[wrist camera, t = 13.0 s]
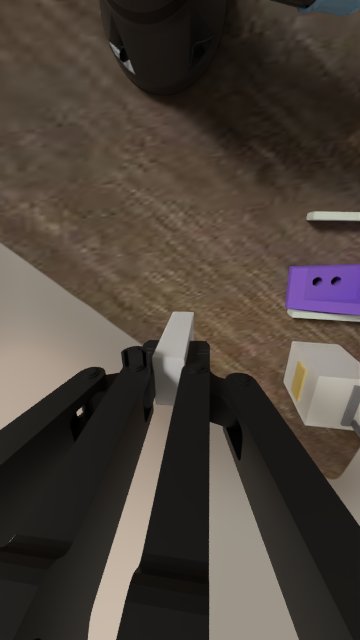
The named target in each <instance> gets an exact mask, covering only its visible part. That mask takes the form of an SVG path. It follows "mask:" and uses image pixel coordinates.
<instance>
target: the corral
mask: <svg viewBox="0 0 360 640" xmlns="http://www.w3.org/2000/svg"><path fill="white" fill-rule="evenodd" d="M306 220H320V221H360V212H310V213H308V214H307V219H306ZM287 313H288V314H289V315H290V316H291V317H294V318H310V319H326V320H341V321H357V322H360V315H352V314H341V313H331V312H321V311H310V310H300V309H290V308H288V311H287Z"/></svg>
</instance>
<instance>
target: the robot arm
mask: <svg viewBox="0 0 360 640" xmlns="http://www.w3.org/2000/svg"><path fill="white" fill-rule="evenodd" d="M271 1H275V2H279V3H282V4H286V5H289V6H293V7H297V8H298V12H301V13H309V12H311V11H317V12H323V13H328V14H333V15H338V16H345V15H349V14H352V13H354V12H356V11H358V10H359V9H360V0H271ZM99 3H100V10H101V16H102V22H103V26H104V30H105V34H106V37H107V40H108V43H109V45H110V48H111V50H112V52H113V54H114V56H115V58H116V59H117V61H118V63H119V65H120V67H121V68H122V70H123V71H124V73H125V74H126V75H127V77H128V78H129V79H130V80H131V81H132V82H133V83H134V84H136V85H137V86H138V87H140V88H141V89H143V90H145V91H147V92H150V93H153V94H159V95H168V94H173V93H177V92H180V91H182V90H184V89H186V88H187V87H189V86H190V85H192V84H193V83H194V82H195V81H197V80H198V79H199V78H200V76H201V75H202V74H203V73H204V72H205V70H206V69H207V68H208V66H209V65H210V63H211V61H212V59H213V58H214V56H215V53H216V51H217V49H218V46H219V43H220V40H221V37H222V33H223V28H224V22H225V13H226V0H99ZM121 355H122V363H123V368H122V370H121V371H120V373H115V374H108V375H106V373H105V370H104V369H103V368H101V367H90V368H87V369H84V370H83V371H80V372H79V373H77V374H76V375H75V376H73V377H72V378H71V379H69V380H68V381H67V382H65V383H64V384H62V385H61V386H60V387H59V388H57V389H56V390H54V391H53V392H52V393H50V394H49V395H47V396H46V397H45V398H43V399H42V400H41V401H39V402H38V403H37V404H35V405H34V406H33V407H31V408H30V409H29V410H27V411H26V412H24V413H23V414H22V415H20V416H19V417H17V418H16V419H15V420H13V421H12V422H11V423H9V424H8V425H7V426H5V427H4V428H2V429H1V430H0V640H88V630H89V621H90V616H91V612H92V608H93V604H94V601H95V598H96V595H97V591H98V588H99V585H100V582H101V579H102V575H103V572H104V569H105V566H106V563H107V559H108V556H109V553H110V549H111V546H112V543H113V540H114V537H115V534H116V530H117V527H118V524H119V521H120V517H121V514H122V511H123V508H124V505H125V501H126V498H127V495H128V492H129V489H130V485H131V482H132V479H133V476H134V473H135V469H136V466H137V463H138V460H139V456H140V453H141V450H142V447H143V443H144V440H145V437H146V434H147V431H148V427H149V424H150V421H151V418H152V415H153V401H154V398H155V400H156V404H159V405H173V406H174V407H173V412H172V417H171V422H170V426H169V431H168V436H167V440H166V445H165V450H164V454H163V460H162V464H161V468H160V473H159V478H158V483H157V487H156V492H155V497H154V502H153V507H152V511H151V516H150V520H149V525H148V530H147V534H146V539H145V544H144V549H143V553H142V557H141V561H140V564H139V567H138V568H137V569H136V570H135V572H134V574H133V576H132V579H131V582H130V585H129V589H128V593H127V596H126V600H125V604H124V608H123V613H122V618H121V622H120V626H119V630H118V634H117V639H116V640H209V434H210V432H209V431H210V430H209V429H210V427H209V425H210V422H212V423H215V424H218V425H221V426H223V431H224V434H225V437H226V440H227V442H228V445H229V448H230V451H231V453H232V456H233V458H234V462H235V464H236V467H237V470H238V472H239V475H240V478H241V481H242V484H243V486H244V489H245V492H246V495H247V497H248V500H249V503H250V506H251V509H252V511H253V514H254V517H255V519H256V522H257V525H258V528H259V531H260V533H261V536H262V539H263V541H264V544H265V547H266V550H267V552H268V555H269V558H270V561H271V564H272V566H273V569H274V572H275V574H276V577H277V580H278V583H279V586H280V588H281V591H282V594H283V597H284V599H285V602H286V605H287V608H288V610H289V613H290V616H291V619H292V621H293V624H294V627H295V630H296V632H297V635H298V638H299V640H360V526H359V525H358V523H357V522H356V520H355V519H354V517H353V516H352V515H351V513H350V512H349V510H348V509H347V508H346V506H345V505H344V504H343V502H342V501H341V500H340V498H339V496H338V495H337V494H336V492H335V491H334V489H333V488H332V487H331V485H330V484H329V482H328V481H327V480H326V478H325V477H324V475H323V474H322V473H321V471H320V470H319V468H318V467H317V466H316V464H315V463H314V461H313V460H312V458H311V457H310V456H309V454H308V453H307V451H306V450H305V449H304V447H303V446H302V444H301V443H300V442H299V440H298V439H297V437H296V436H295V435H294V433H293V432H292V430H291V429H290V428H289V426H288V425H287V423H286V422H285V421H284V419H283V418H282V416H281V415H280V414H279V412H278V411H277V409H276V408H275V407H274V405H273V404H272V402H271V401H270V399H269V398H268V397H267V395H266V394H265V392H264V391H263V390H262V388H261V387H260V385H259V384H258V383H257V381H256V380H255V379H254V378H253V377H252V376H250V375H248V374H244V373H232V374H229V375H228V376H227V377H226V379H223V378H220V377H217V376H216V375H214V374H213V373H212V372H211V371H210V345H209V344H208V343H207V342H206V341H194V312H173V313H172V315H171V318H170V320H169V322H168V324H167V326H166V328H165V330H164V333H163V335H162V337H161V339H160V340H149V341H147V342H146V343H144V345H143V346H142V347H141V346H133V347H129V348H127V349H124V350H123V351H122V352H121ZM81 407H82V411H83V413H82V414H81V415H79V416H77V413H76V412H77V411H78V409H80V408H81ZM15 534H16V535H15ZM12 538H13V539H12ZM11 539H12V540H11ZM10 540H11V541H10Z"/></svg>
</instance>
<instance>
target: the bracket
mask: <svg viewBox="0 0 360 640" xmlns="http://www.w3.org/2000/svg"><path fill="white" fill-rule="evenodd" d="M316 277H319V280H318V282H317V283H316V284H314V285H313V283H312V281H313V279H314V278H316ZM334 277H337V279H336V281H335V282H334V283H333V284H331V280H332V279H333V278H334ZM285 307H286V308H290V309H300V310H310V311H321V312H331V313H341V314H352V315H360V264H346V265H318V266H290V268H289V277H288V285H287V294H286V302H285Z"/></svg>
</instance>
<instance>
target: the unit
mask: <svg viewBox="0 0 360 640" xmlns="http://www.w3.org/2000/svg"><path fill="white" fill-rule="evenodd" d="M283 382H284V384H285V386H286V388H287V390H288V392H289V394H290V396H291V398H292V400H293V402H294V404H295V406H296V408H297V410H298V412H299V414H300V416H301V418H302V420H303V423H304V425H309V426H318V427H327V428H336V429H345V430H354V431H355V432H356V434H357V435H358V436H359V438H360V363H359V362H358V361H357V360H356V359H355V358H353V357H352V356H351V355H350V354H349V353H348V352H347V351H345V350H344V349H343V348H342V347H341V346H340V345H337V344H323V343H310V342H296V341H293V342H292V346H291V350H290V355H289V359H288V364H287V368H286V372H285V377H284V381H283Z"/></svg>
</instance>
